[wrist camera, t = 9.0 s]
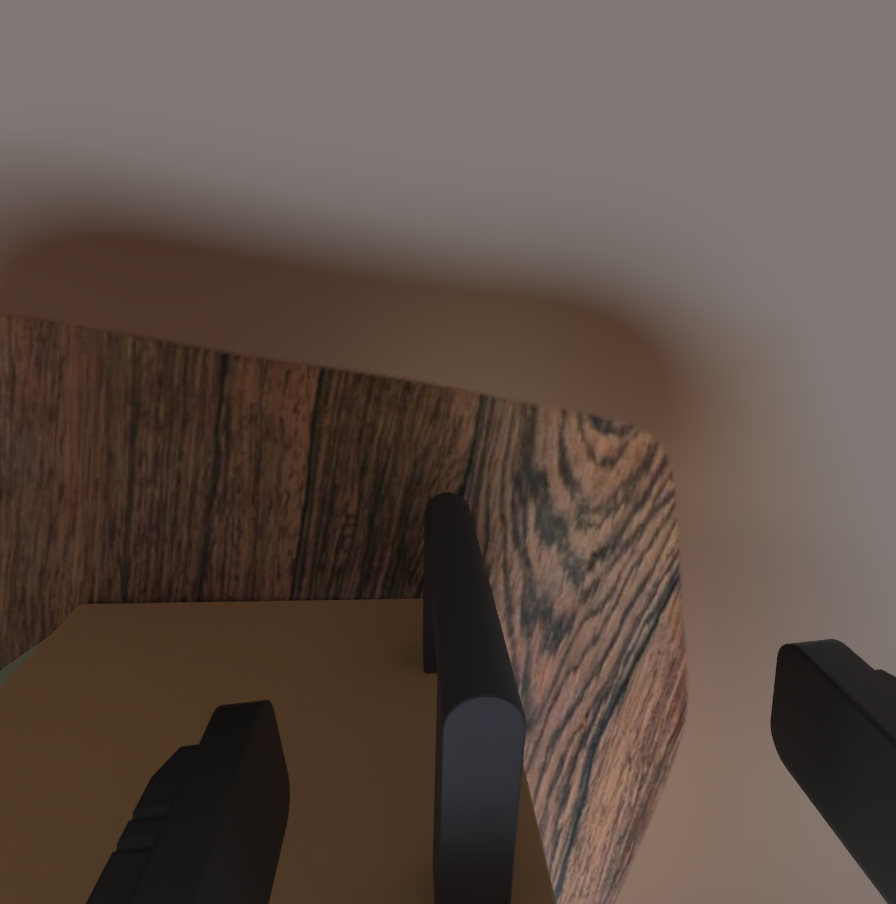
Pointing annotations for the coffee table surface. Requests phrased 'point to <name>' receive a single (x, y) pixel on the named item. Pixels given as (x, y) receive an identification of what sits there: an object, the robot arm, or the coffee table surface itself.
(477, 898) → the cupboard door
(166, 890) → the robot arm
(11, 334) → the coffee table surface
